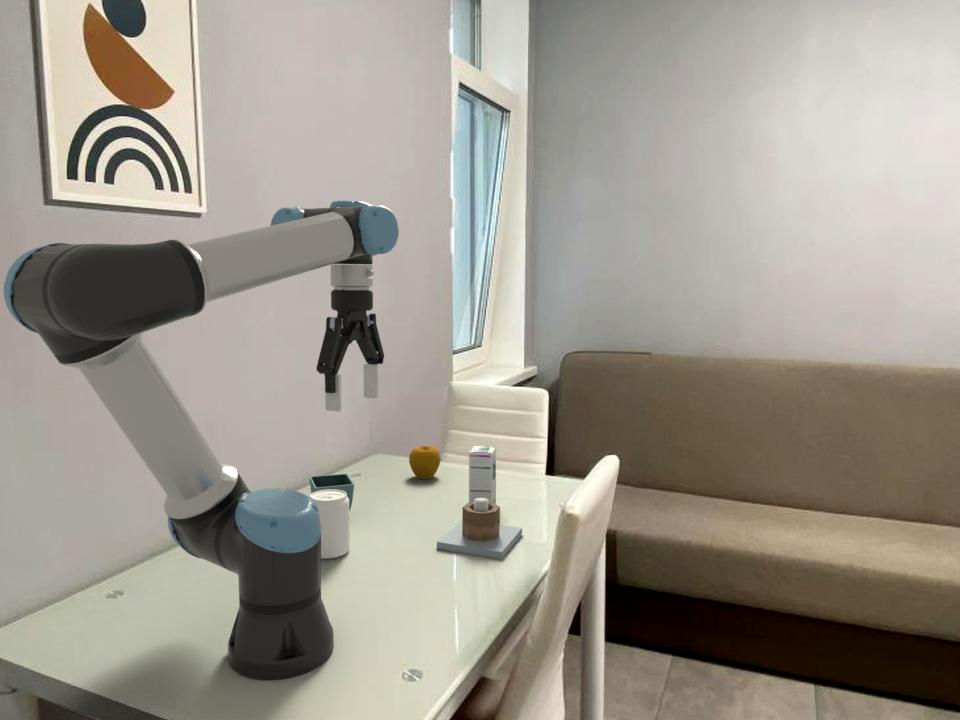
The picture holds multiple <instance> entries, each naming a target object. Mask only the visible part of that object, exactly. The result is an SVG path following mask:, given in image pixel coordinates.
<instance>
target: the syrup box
mask: <svg viewBox="0 0 960 720" xmlns="http://www.w3.org/2000/svg"><path fill="white" fill-rule="evenodd" d="M496 459H497V448H496V447H494V446H487V445H475V446H474V445H473V447H472V448H471V449H470V451H469V452H468V503H469V502H474V499H476V498H486V499H488V502H492V503H495V504H496V505H497V499H496V497H497V494H496V493H497V490H496V489H497V460H496Z"/></svg>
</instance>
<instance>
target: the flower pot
mask: <svg viewBox="0 0 960 720" xmlns="http://www.w3.org/2000/svg"><path fill="white" fill-rule="evenodd" d="M309 485H310V495H311V494H312V493H313V492H316V491H320V490H326V489H336V490H342V491H344V492H346V494H347V497H348V499H349V512H351V509H352V504H353V499H354V492H355V491H354V490H355V483H354V482H353V480H352V479H351V477H350V475H349V474H348V473H337V474H327V475H315V476H314V475H313V476H309Z"/></svg>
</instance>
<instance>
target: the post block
mask: <svg viewBox="0 0 960 720" xmlns="http://www.w3.org/2000/svg"><path fill="white" fill-rule="evenodd" d="M474 510H476V511H487V510H488V499H486V498H476V499H474ZM521 534H522V535H523V527H520V526H519V527H518V526H511V525H504V524H500V528H499V535H498V537H497V538H496V539H495V540H489V541H483V542H480V541H474V540H468V539H467V538H466V537H464V536H463V535H462V519H460V520H459V521H458V522H457V523H456V524H455V525H454V526H452V527H451V528H450V529H449V530H448V531H447V532H446V533H445V534H443V536H441V537H440V539H438V540H437V541H436V550H437V549H438V550H443V551H448V552H455V553H460V554H466V555H473V556H479V557H487V558H492V559H498V560H503V558H504V557H505V556H506V555H507V554H508V552H509V551H510V550H511V549H512V548H513V546H514V545H515V544H516V543H517V541H519V539H520V538H521V537H522V535H521ZM520 536H521V537H520ZM519 537H520V538H519ZM518 538H519V539H518ZM515 542H516V543H515ZM514 543H515V544H514Z"/></svg>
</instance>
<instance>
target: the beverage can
mask: <svg viewBox="0 0 960 720" xmlns="http://www.w3.org/2000/svg"><path fill="white" fill-rule="evenodd" d="M309 497H310V498H311V499H312V500H313V501H314V502H315V503H316V505H317V507H318V510H319V518H320V524H321V560H322V559H323V560H328V559H329V560H331V559H332V560H333V559H337V558H340V557H342V556H343V555H345V554H347V553H348V552H350V548H351V546H350V539H351V538H350V511H349V499H348V497H347V494H346V492H344V491H342V490H336V489H326V490H320V491H316V492H313V493H312V494H311V493H310V495H309Z"/></svg>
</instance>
